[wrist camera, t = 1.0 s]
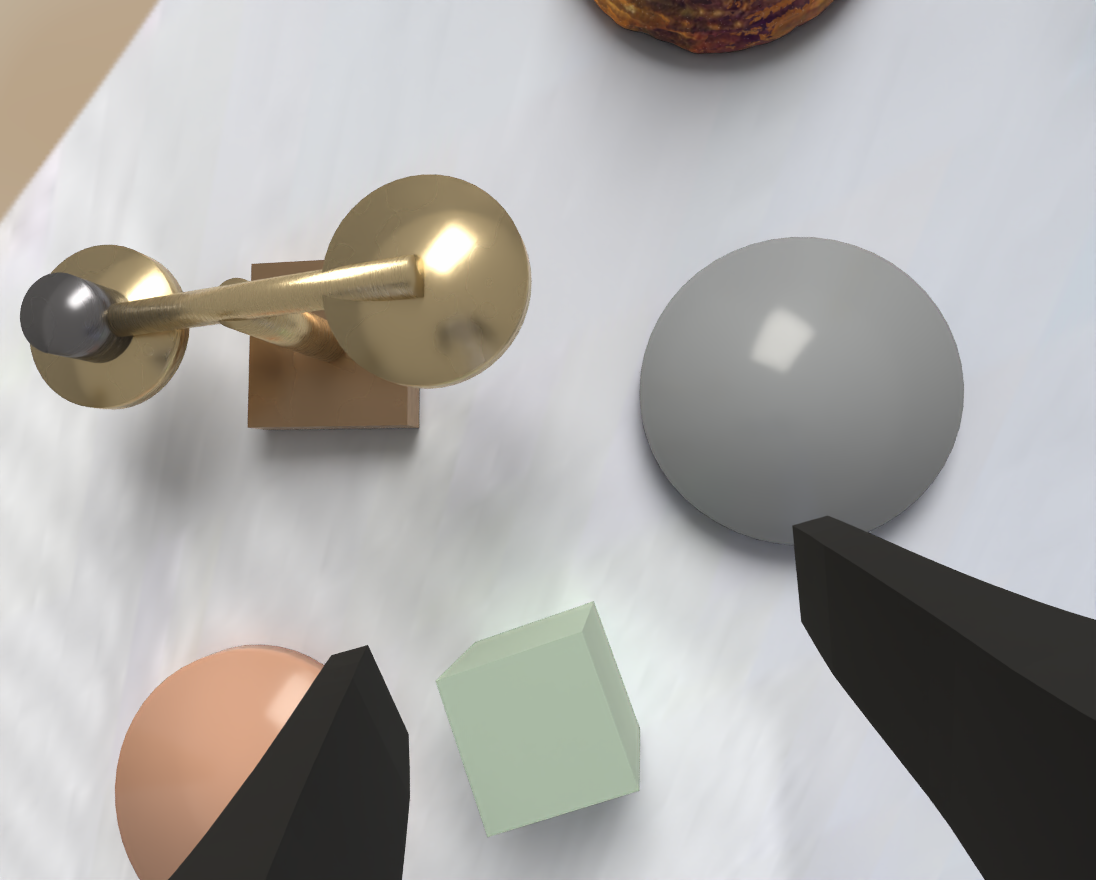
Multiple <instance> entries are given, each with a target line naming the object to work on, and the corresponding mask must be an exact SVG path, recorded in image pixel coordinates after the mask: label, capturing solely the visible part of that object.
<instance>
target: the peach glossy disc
mask: <svg viewBox="0 0 1096 880" xmlns="http://www.w3.org/2000/svg"><path fill="white" fill-rule="evenodd" d="M323 667H324V665H323V664H321V663H319V662H318V661H316V660H314V659H313V658H311V657H309V656H306V655H304V654H301V653H299V652H297V651H294V650H290V649H286V648H282V647H278V646H270V645H244V646H239V647H233V648H229V649H226V650H223V651H220V652H217V653H214V654H211V655H209V656H206V657H204V658H202V659H199V660H197V661H195V662H193V663H191V664H189V665H187V666H185V667H183V668H181V669H179V670H178V671H177V672H175V673H174V674H172V675H171V676H169V677H168V678H167V679H166V680H164V681H163V682H162V683H161V684H160V685H159V686H158V687H157V688H156V689H155V690H154V691H153V692H152V693H151V694H150V696H149V697H148V698H147V699H146V700H145V702H144V703H143V704H142V706H141V707H140V709H139V711H138V712H137V714H136V715H135V717H134V719H133V721H132V723H131V725H130V727H129V729H128V731H127V733H126V736H125V739H124V742H123V745H122V748H121V751H120V756H119V760H118V765H117V772H116V783H115V806H116V813H117V820H118V826H119V830H120V834H121V838H122V842H123V845H124V847H125V850H126V853H127V855H128V858H129V860H130V862H131V864H132V866H133V868H134V870H135V872H136V874H137V876H138V877H139V879H140V880H168V879H169V878H170V877H171V876H172V874H173V873H174V872H175V871H176V870H177V869H178V867H179V866H180V865H181V864H182V862H183V861H184V860H185V859H186V858H187V856H188V855H189V854H190V853H191V851H192V850H193V849H194V848H195V847H196V845H197V844H198V843H199V841H200V840H201V839H202V838H203V836H204V835H205V834H206V833H207V831H208V830H209V829H210V827H211V826H212V825H213V823H214V822H215V821H216V819H217V818H218V817H219V815H220V814H221V813H222V811H223V810H224V809H225V807H226V806H227V805H228V803H229V802H230V801H231V799H232V798H233V796H234V795H235V794H236V792H237V791H238V790H239V788H240V787H241V786H242V784H243V783H244V782H245V780H246V779H247V778H248V776H249V775H250V774H251V772H252V771H253V770H254V768H255V767H256V765H257V764H258V763H259V761H260V760H261V758H262V757H263V755H264V754H265V752H266V751H267V750H268V748H269V747H270V745H271V744H272V742H273V741H274V739H275V738H276V736H277V735H278V733H279V732H280V731H281V729H282V728H283V726H284V725H285V723H286V722H287V720H288V719H289V717H290V716H291V714H292V713H293V711H294V710H295V708H296V707H297V705H298V704H299V702H300V701H301V699H302V698H303V696H304V695H305V693H306V692H307V690H308V689H309V687H310V686H311V684H312V683H313V681H314V680H315V678H316V677H317V675H318V674H319V672H320V671H321V669H322V668H323Z"/></svg>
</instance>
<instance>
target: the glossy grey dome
mask: <svg viewBox="0 0 1096 880" xmlns="http://www.w3.org/2000/svg"><path fill="white" fill-rule="evenodd" d="M963 399H964V382H963V373H962V365H961V361H960V357H959V353H958V349H957V345H956V343H955V340H954V338H953V335H952V333H951V330H950V328H949V326H948V324H947V322H946V320H945V319H944V317H943V315H942V314H941V312H940V310H939V309H938V307H937V306H936V304H935V303H934V302H933V301H932V299H931V298H930V297H929V296H928V294H927V293H926V292H925V291H924V290H923V289H922V288H921V287H920V286H919V285H918V284H917V283H916V282H915V281H914V280H913V279H912V278H911V277H910V276H909V275H907V274H906V273H905V272H903V271H902V270H901V269H899V268H898V267H897V266H895V265H894V264H893V263H891V262H889V261H887V260H885V259H884V258H882V257H880V256H878V255H876V254H875V253H872V252H870V251H867V250H865V249H862V248H860V247H857V246H855V245H851V244H847V243H843V242H840V241H836V240H830V239H822V238H815V237H790V238H781V239H772V240H768V241H764V242H760V243H755V244H751V245H749V246H746V247H743V248H741V249H738V250H736V251H733V252H731V253H729V254H727V255H725V256H723V257H721V258H719V259H718V260H716V261H714V262H712V263H711V264H710V265H708V266H707V267H705V268H704V269H702V270H701V271H700V272H698V273H697V274H696V275H695V276H694V277H692V278H691V279H690V280H689V281H688V282H687V283H686V284H685V285H684V286H683V287H682V288H681V289H680V290H679V291H678V292H677V294H676V295H675V296H674V297H673V298H672V299H671V301H670V302H669V303H668V305H667V306H666V308H665V310H664V311H663V313H662V314H661V316H660V317H659V319H658V321H657V323H656V325H655V327H654V329H653V331H652V333H651V336H650V339H649V342H648V345H647V348H646V351H645V354H644V359H643V364H642V369H641V378H640V405H641V416H642V421H643V425H644V430H645V434H646V437H647V440H648V443H649V445H650V448H651V451H652V453H653V455H654V457H655V459H656V461H657V463H658V465H659V467H660V468H661V470H662V471H663V473H664V474H665V476H666V477H667V478H668V480H669V481H670V483H671V484H672V485H673V486H674V487H675V488H676V490H677V491H678V492H679V493H680V494H681V495H682V496H683V497H684V498H685V499H686V500H687V501H688V502H689V503H691V504H692V505H693V506H694V507H695V508H696V509H698V510H699V511H700V512H702V513H703V514H705V515H706V516H708V517H709V518H711V519H712V520H714V521H716V522H717V523H719V524H721V525H723V526H725V527H727V528H729V529H731V530H733V531H735V532H737V533H740V534H743V535H746V536H749V537H752V538H755V539H758V540H763V541H767V542H772V543H777V544H788V545H794V539H793V529H792V525H796V524H799V523H803V522H806V521H810V520H813V519H817V518H820V517H824V516H830V517H833V518H835V519H838V520H840V521H843V522H845V523H847V524H850V525H852V526H854V527H857V528H859V529H861V530H864V531H866V532H869V531H871V530H873V529H875V528H877V527H879V526H882V525H884V524H885V523H887V522H888V521H890V520H891V519H893V518H895V517H896V516H898V515H899V514H901V513H902V512H903V511H904V510H906V509H907V508H908V507H909V506H910V505H912V504H913V503H914V502H915V501H916V500H918V498H919V497H920V496H921V495H922V494H923V493H924V492H925V491H926V490H927V488H928V487H929V486H930V485H931V484H932V483H933V481H934V480H935V478H936V477H937V475H938V474H939V472H940V471H941V469H942V468H943V466H944V465H945V463H946V461H947V458H948V456H949V454H950V452H951V450H952V448H953V446H954V443H955V440H956V437H957V434H958V431H959V428H960V422H961V416H962V411H963Z"/></svg>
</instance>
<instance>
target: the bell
mask: <svg viewBox="0 0 1096 880" xmlns="http://www.w3.org/2000/svg"><path fill="white" fill-rule="evenodd" d="M594 1H595V2H596V4H597V5H598V6H599V7H600V8H601V9H602V11H603V12H604V13H606V14H607V15H608V16H610V17H611V18H612V19H613V20H614V21H615V22H616V23H617V24H618V25H620V26H621V27H623V28H626V29H629V30H632V31H639V32H644V33H646V34H649V35H651V36H653V37H654V38H656V39H659V40H662V41H666V42H670V43H673V44H675V45H677V46H679V47H681V48H683V49H686V50H688V51H690V52H693V53H699V54H703V53H724V52H733V51H738V50H743V49H746V48H750V47H752V46H755V45H761V44H765V43H768V42H771V41H774V40H776V39H778V38H780V37H782V36H784V35H786V34H788V33H789V32H791V31H792V30H793V29H794V28H795V27H797V26H800V25H803V24H804V23H806V22H808V21H809V20H811V19H813V18H815V17H816V16H818V15H819V14H820V13H822V12H823V11H824V10H825V9H826V8H827V7H828V6H829V5H830V4H831V3H832V2H833V1H834V0H594ZM632 2H633V3H632ZM665 4H666V5H665ZM759 4H760V5H759ZM604 7H605V8H604ZM784 7H785V8H784ZM796 8H797V9H796ZM759 16H760V17H759ZM687 17H688V18H687ZM709 18H710V19H709ZM763 19H764V20H763ZM686 20H687V21H686ZM801 21H802V22H801ZM721 23H722V24H721ZM782 24H783V25H782ZM719 25H720V26H719ZM651 27H652V28H651ZM719 27H720V28H719ZM687 28H688V29H687ZM737 28H738V29H737ZM765 28H766V29H765ZM763 35H764V36H763ZM705 43H706V44H705ZM720 44H721V45H720ZM703 47H704V48H703Z"/></svg>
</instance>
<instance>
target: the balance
mask: <svg viewBox="0 0 1096 880" xmlns="http://www.w3.org/2000/svg"><path fill="white" fill-rule="evenodd" d="M531 282H532V281H531V267H530V262H529V258H528V254H527V251H526V248H525V245H524V242H523V240H522V238H521V236H520V234H519V232H518V230H517V228H516V226H515V224H514V222H513V221H512V219H511V218H510V216H509V215H508V213H507V212H506V211H505V209H504V208H503V207H502V206H501V205H500V204H499V203H498V202H497V201H496V200H495V199H494V198H493V197H491V196H490V195H489V194H488V193H486V192H485V191H483V190H482V189H480V188H478V187H477V186H475V185H473V184H471V183H468V182H466V181H464V180H461V179H457V178H454V177H450V176H443V175H417V176H410V177H406V178H402V179H399V180H395V181H393V182H391V183H388V184H386V185H384V186H382V187H380V188H378V189H377V190H375V191H373V192H371V193H370V194H369V195H367V196H366V197H365V198H363V199H362V200H361V201H360V202H359V203H358V204H357V205H356V206H355V207H354V208H353V209H351V211H350V212H349V213H348V214H347V216H346V217H345V218H344V219H343V220H342V222H341V224H340V225H339V227H338V228H337V230H336V231H335V233H334V236H333V238H332V240H331V242H330V244H329V247H328V250H327V253H326V256H325V260H316V261H297V262H278V263H260V264H252V268H251V281H247V280H245V279H242V278H232V279H229V280H227V281H225V282H223V283H222V284H221V285H220V286H218V287H212V288H206V289H200V290H194V291H188V292H183V291H182V289H181V287H180V285H179V284H178V282H177V280H176V279H175V278H174V276H173V275H172V274H171V273H170V271H169V270H167V269H166V268H165V267H164V266H163V265H162V264H160V263H159V262H157V261H156V260H154V259H152V258H150V257H148V256H146V255H144V254H142V253H139V252H137V251H135V250H133V249H130V248H127V247H123V246H117V245H99V246H93V247H90V248H86V249H84V250H81V251H79V252H77V253H75V254H73V255H72V256H70V257H68V258H67V259H66V260H64V261H63V262H62V263H60V264H59V265H58V266H57V267H56V268H55V269H54V270H53V271H52V272H51V274H48V275H46V276H43V277H42V278H40V279H39V280H37V281H36V282H35V283H34V284H33V285H32V286H31V287H30V289H29V290H28V291H27V293H26V295H25V297H24V299H23V302H22V305H21V311H20V322H21V327H22V331H23V333H24V335H25V337H26V339H27V340H28V342H29V343H30V347H31V352H32V356H33V359H34V362H35V364H36V367H37V369H38V371H39V373H40V374H41V376H42V378H43V379H44V380H45V382H46V383H47V384H48V386H49V387H50V388H51V389H52V390H53V391H54V392H56V393H57V394H58V395H60V396H61V397H62V398H64V399H66V400H68V401H70V402H72V403H75V404H78V405H81V406H86V407H92V408H100V409H113V410H114V409H124V408H128V407H132V406H135V405H138V404H140V403H142V402H144V401H146V400H148V399H150V398H151V397H152V396H154V395H155V394H157V393H158V392H159V391H160V390H161V389H162V388H163V387H164V386H165V385H166V384H167V383H168V382H169V381H170V379H171V378H172V377H173V375H174V374H175V372H176V371H177V369H178V367H179V365H180V363H181V361H182V359H183V356H184V353H185V351H186V347H187V343H188V338H189V328H192V327H200V326H207V325H215V324H222V325H224V326H226V327H228V328H231V329H234V330H237V331H239V332H242V333H245V334H248V335H250V351H249V393H248V428H255V429H263V430H298V429H370V428H419V388H424V389H431V388H442V387H447V386H451V385H455V384H458V383H461V382H463V381H466V380H468V379H470V378H472V377H474V376H476V375H478V374H480V373H481V372H483V371H484V370H486V369H487V368H488V367H490V366H491V365H492V364H493V363H494V362H496V361H497V360H498V359H499V358H500V357H501V356H502V355H503V354H504V352H505V351H506V350H507V349H508V348H509V346H510V345H511V344H512V342H513V341H514V339H515V337H516V336H517V334H518V332H519V330H520V328H521V326H522V324H523V322H524V319H525V316H526V313H527V310H528V306H529V301H530V296H531Z"/></svg>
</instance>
